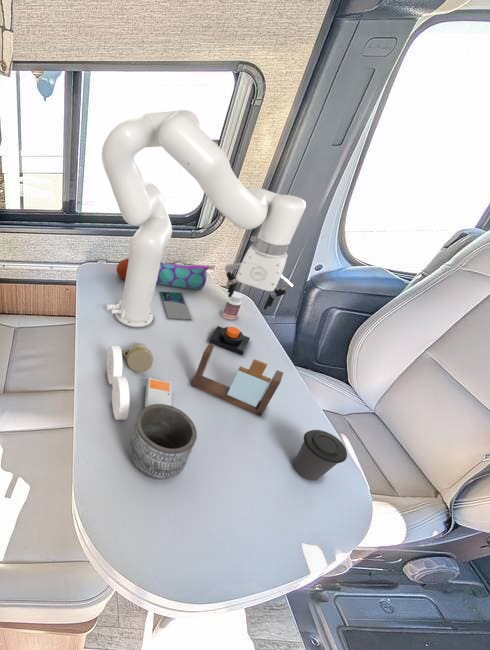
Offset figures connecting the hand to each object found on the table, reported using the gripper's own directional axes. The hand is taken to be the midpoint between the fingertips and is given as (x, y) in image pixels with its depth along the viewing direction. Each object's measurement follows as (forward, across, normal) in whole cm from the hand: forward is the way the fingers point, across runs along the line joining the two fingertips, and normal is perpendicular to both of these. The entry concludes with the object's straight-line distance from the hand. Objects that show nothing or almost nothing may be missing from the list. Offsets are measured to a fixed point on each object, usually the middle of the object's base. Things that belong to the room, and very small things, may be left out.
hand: (247, 300), depth 110 cm
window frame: (+17, +6, -22) cm, 28 cm away
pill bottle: (+17, -5, +16) cm, 24 cm away
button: (+13, -1, +1) cm, 14 cm away
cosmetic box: (+14, -10, -32) cm, 36 cm away
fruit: (+17, -44, +16) cm, 50 cm away
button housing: (+17, -1, +1) cm, 17 cm away
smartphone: (+17, -22, +10) cm, 29 cm away
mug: (+17, -19, -25) cm, 36 cm away
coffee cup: (+17, +27, -33) cm, 46 cm away
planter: (+17, -1, -52) cm, 55 cm away
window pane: (+15, +9, -23) cm, 29 cm away
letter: (+17, -18, -40) cm, 47 cm away
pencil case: (+17, -28, +23) cm, 40 cm away
